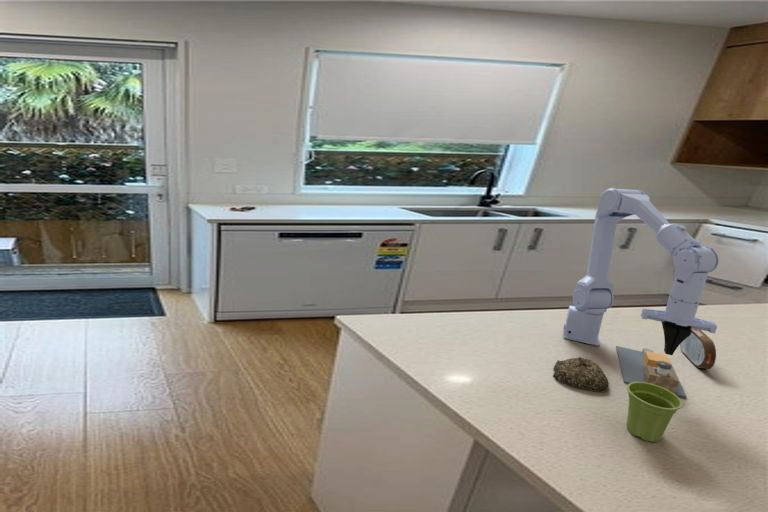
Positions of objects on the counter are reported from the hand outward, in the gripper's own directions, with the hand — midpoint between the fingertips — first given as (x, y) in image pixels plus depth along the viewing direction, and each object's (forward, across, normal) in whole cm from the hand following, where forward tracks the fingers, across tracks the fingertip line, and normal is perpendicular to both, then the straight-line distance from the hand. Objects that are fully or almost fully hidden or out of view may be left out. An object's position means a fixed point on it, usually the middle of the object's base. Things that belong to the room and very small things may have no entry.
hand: (668, 353), depth 105 cm
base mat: (+9, -1, +8) cm, 13 cm away
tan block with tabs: (+9, 0, +7) cm, 11 cm away
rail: (+9, 0, +10) cm, 14 cm away
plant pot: (+10, -6, -22) cm, 24 cm away
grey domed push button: (+7, 0, 0) cm, 7 cm away
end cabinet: (+9, 0, 0) cm, 9 cm away
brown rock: (+10, -18, -5) cm, 21 cm away
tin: (+10, +12, +22) cm, 27 cm away
